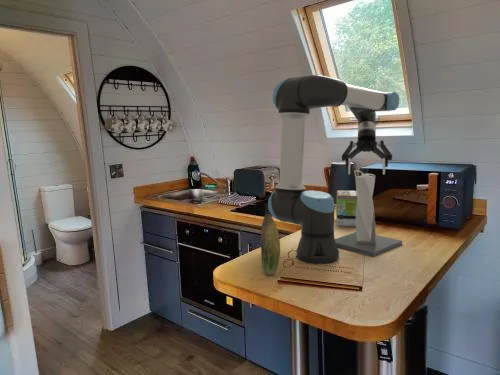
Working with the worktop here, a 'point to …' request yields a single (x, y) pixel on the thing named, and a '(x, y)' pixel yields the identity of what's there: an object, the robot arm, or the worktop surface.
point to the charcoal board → (368, 249)
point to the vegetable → (269, 245)
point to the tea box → (346, 208)
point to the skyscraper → (365, 209)
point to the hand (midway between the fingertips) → (366, 172)
